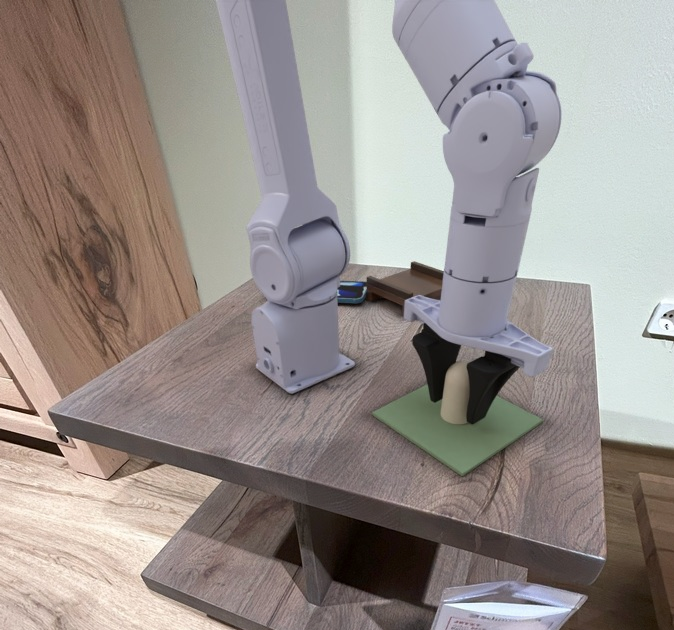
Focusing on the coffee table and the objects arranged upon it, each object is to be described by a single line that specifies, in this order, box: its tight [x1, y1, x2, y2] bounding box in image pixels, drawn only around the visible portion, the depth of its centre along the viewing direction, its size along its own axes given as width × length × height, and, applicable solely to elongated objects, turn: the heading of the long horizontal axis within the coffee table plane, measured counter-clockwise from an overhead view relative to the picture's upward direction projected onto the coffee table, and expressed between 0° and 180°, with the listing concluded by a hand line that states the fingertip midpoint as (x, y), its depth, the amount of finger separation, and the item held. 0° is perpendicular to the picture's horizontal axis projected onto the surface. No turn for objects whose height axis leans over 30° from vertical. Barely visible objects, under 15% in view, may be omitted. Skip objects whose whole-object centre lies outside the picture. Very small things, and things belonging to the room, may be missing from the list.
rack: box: [365, 260, 444, 317], centre depth 68 cm, size 10×9×4 cm
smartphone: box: [337, 279, 367, 305], centre depth 71 cm, size 7×1×15 cm
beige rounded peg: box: [441, 360, 470, 425], centre depth 44 cm, size 3×3×6 cm
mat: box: [371, 383, 544, 477], centre depth 46 cm, size 12×12×1 cm
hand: (457, 408), depth 45 cm, fingers open, 4 cm apart
